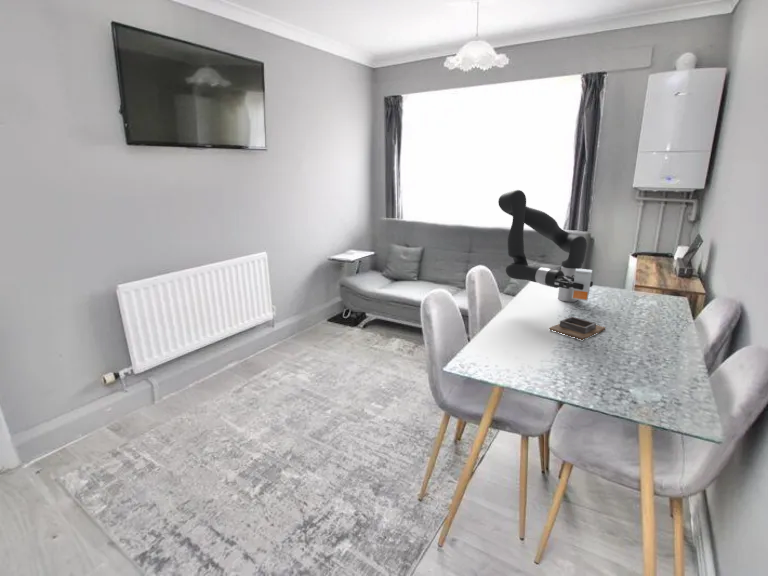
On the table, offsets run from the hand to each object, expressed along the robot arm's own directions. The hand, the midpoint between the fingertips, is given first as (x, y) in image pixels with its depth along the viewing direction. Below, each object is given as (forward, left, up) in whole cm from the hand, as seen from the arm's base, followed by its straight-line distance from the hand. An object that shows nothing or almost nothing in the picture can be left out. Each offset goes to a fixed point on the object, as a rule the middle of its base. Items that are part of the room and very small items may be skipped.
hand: (587, 285), depth 156 cm
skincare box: (0, -2, -6) cm, 7 cm away
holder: (0, -2, -20) cm, 20 cm away
